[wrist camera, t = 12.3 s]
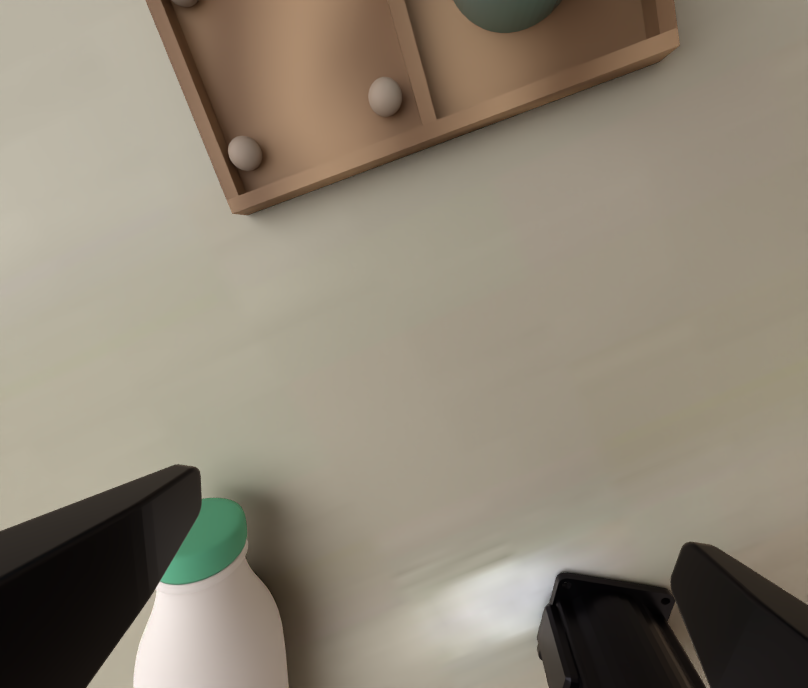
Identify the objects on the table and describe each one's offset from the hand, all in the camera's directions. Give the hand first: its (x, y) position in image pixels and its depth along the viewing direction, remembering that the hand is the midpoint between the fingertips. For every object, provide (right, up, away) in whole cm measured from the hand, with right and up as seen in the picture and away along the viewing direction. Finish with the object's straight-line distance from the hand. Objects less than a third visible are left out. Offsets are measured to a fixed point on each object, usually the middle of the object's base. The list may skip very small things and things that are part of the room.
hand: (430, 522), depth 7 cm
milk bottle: (-12, -25, +18) cm, 33 cm away
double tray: (-1, +17, +9) cm, 19 cm away
